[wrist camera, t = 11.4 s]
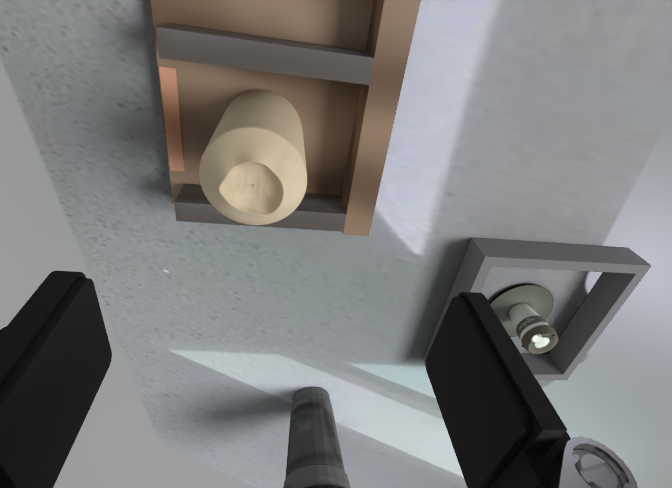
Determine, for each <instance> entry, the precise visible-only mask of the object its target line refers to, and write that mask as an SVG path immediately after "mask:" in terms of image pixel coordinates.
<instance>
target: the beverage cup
mask: <svg viewBox="0 0 672 488" xmlns="http://www.w3.org/2000/svg"><path fill="white" fill-rule="evenodd" d="M283 488H350V484H349V481H348V478H347V475H346V473H345V471H344V465H343V460H342V455H341V450H340V445H339V440H338V435H337V430H336V425H335V420H334V415H333V410H332V405H331V402H330V398H329V393H328V392H327V391H326V390H324V389H323V388H319V387H307V388H304V389H301V390H299V391H298V392H296V393H295V395H294V396H293V404H292V410H291V419H290V431H289V444H288V456H287V468H286V479H285V483H284V487H283Z"/></svg>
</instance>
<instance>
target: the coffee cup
mask: <svg viewBox="0 0 672 488" xmlns="http://www.w3.org/2000/svg"><path fill="white" fill-rule="evenodd" d="M553 304H554V300H553V296H552V294H551V293H550V291H549V290H547V289H546V288H544V287H541V286H539V285H533V284H529V285H522V286H518V287H515V288H512V289H510V290H508V291H506V292H504V293H502V294H501V295H499V296H498V297H497V298H496V299H494V300H493V301H492V302H491V303H490V305H491V307H492V309H493V310H494V312H495V313H496V315H497V317H498V318H499V320H500V322H501V323H502V325H503V326H504V328H505V330H506V331H507V333H508V335H509V336H510V337H514V336H519V338H520V340H521V342H522V347H524V348H526V349H527V351H529V352H530V353H533V354H541V353H544V352H547V351H549V350H551V349H552V348H553V347H554V346H555V345H556V344H557V342H558V335H557V333H556V331H555V330H554V328H553V327H551V326H549V324H548V323H547V322H546V321H545V319H546V318H547V317H548V316H549V314H550V312H551V310H552V308H553Z"/></svg>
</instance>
